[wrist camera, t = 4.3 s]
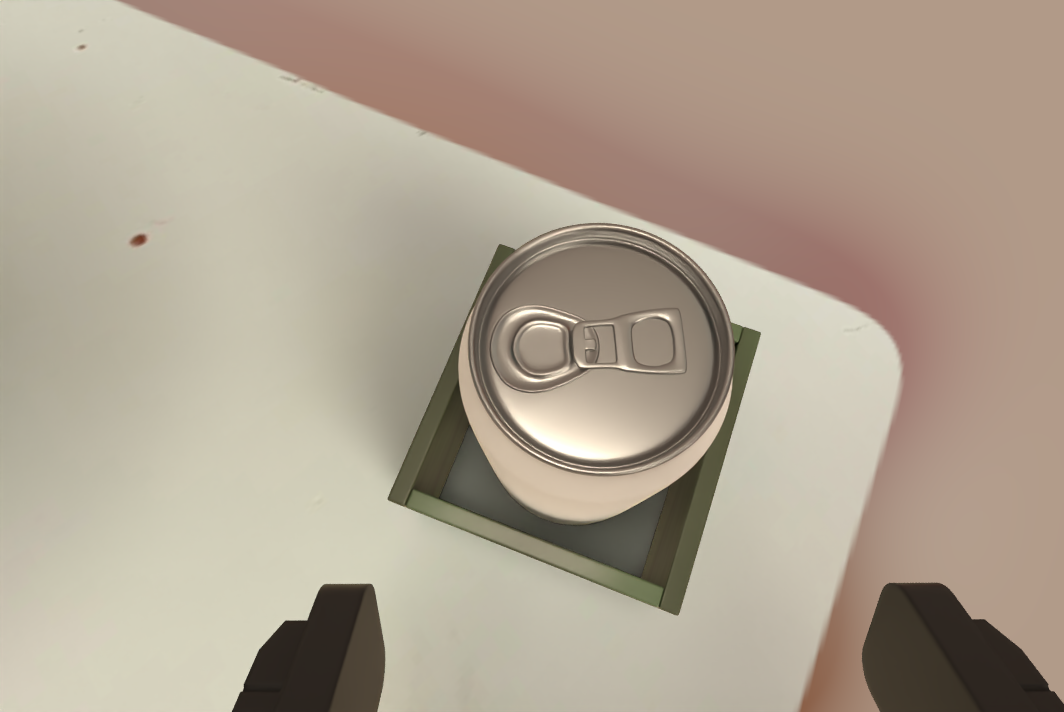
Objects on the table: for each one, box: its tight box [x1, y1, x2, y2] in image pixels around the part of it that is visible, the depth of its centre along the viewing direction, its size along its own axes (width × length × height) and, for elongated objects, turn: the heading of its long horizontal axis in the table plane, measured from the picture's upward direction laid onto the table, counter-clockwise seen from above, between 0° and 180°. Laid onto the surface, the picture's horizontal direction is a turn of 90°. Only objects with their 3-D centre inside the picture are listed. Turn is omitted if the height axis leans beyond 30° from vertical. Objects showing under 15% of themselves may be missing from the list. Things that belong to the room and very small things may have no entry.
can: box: [458, 223, 735, 525], centre depth 19 cm, size 6×6×12 cm
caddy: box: [388, 244, 761, 616], centre depth 23 cm, size 9×9×5 cm
